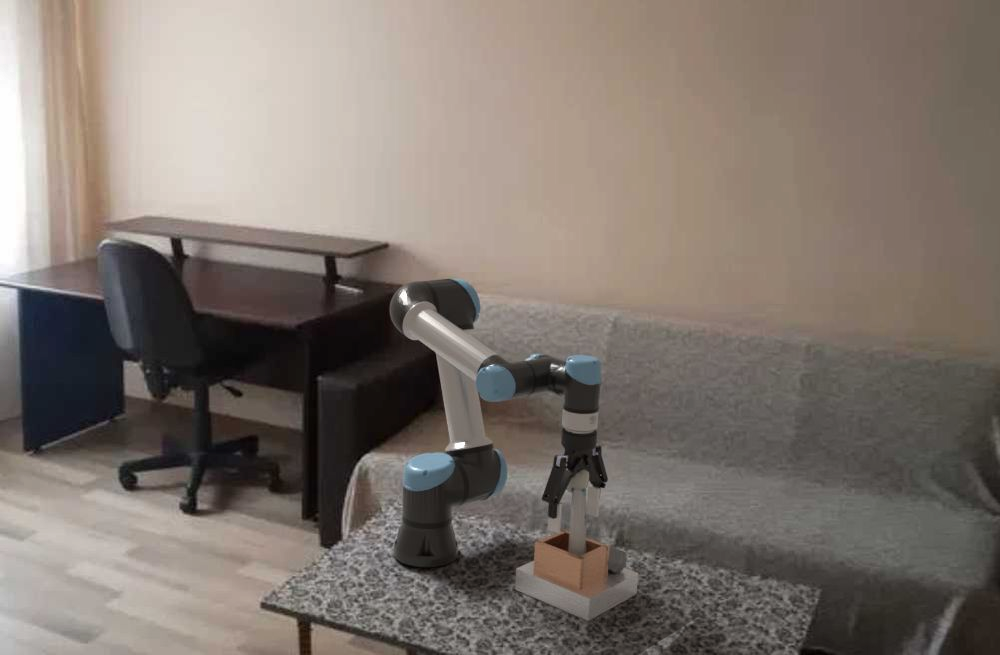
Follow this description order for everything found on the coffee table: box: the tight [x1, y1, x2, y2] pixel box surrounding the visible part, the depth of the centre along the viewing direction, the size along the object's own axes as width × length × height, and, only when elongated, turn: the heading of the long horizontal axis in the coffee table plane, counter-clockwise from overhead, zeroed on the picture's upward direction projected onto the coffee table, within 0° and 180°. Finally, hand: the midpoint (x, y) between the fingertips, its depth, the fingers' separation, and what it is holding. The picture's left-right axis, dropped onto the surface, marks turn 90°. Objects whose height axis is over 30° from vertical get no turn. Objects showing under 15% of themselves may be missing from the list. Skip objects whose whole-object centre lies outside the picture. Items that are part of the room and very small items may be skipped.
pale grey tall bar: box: [565, 468, 590, 556], centre depth 222 cm, size 5×7×25 cm
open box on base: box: [514, 529, 639, 622], centre depth 225 cm, size 20×18×12 cm
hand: (573, 523), depth 221 cm, fingers open, 13 cm apart
